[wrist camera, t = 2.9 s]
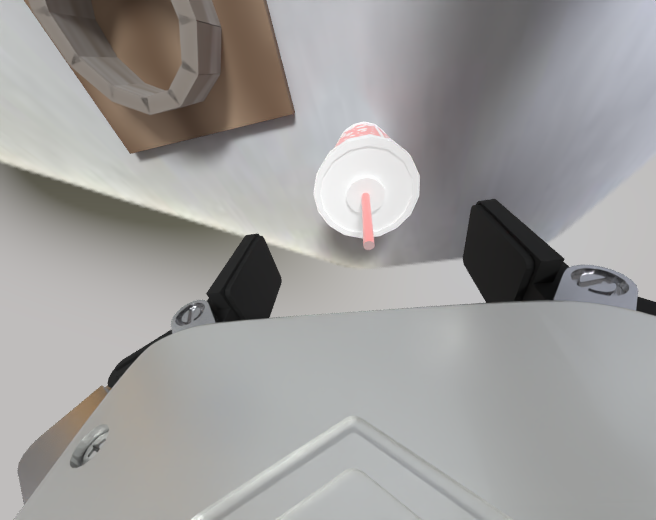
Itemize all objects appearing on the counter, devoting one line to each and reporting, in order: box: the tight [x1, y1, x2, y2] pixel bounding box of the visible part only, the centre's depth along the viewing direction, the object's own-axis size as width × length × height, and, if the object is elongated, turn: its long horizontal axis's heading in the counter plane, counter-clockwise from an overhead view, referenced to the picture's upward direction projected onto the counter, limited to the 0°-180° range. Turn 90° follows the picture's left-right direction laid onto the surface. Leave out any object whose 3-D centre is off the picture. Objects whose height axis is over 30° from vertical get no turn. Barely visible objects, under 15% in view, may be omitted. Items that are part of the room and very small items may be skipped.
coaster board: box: [24, 0, 295, 154], centre depth 15 cm, size 16×14×4 cm
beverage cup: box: [314, 122, 420, 250], centre depth 15 cm, size 6×6×14 cm
